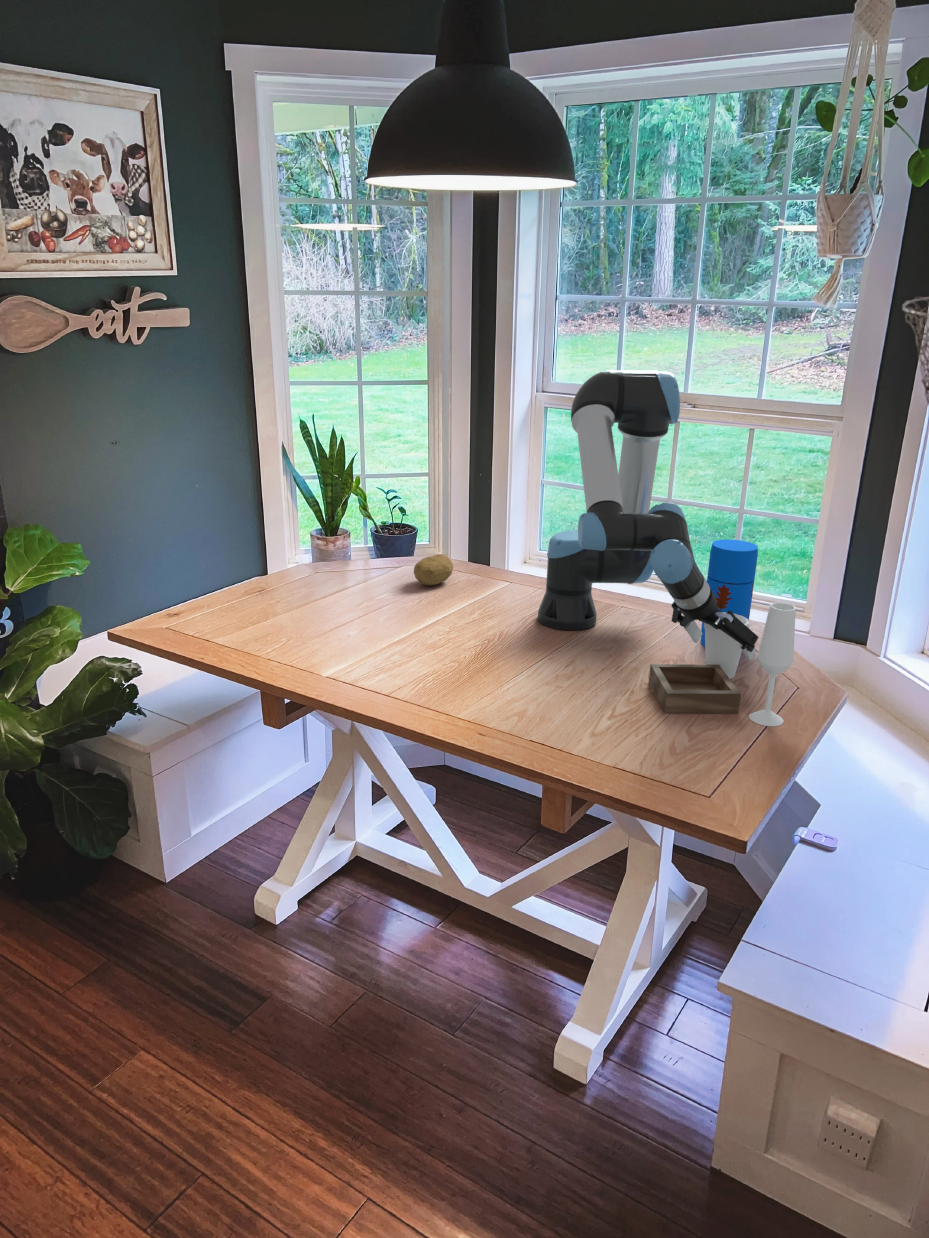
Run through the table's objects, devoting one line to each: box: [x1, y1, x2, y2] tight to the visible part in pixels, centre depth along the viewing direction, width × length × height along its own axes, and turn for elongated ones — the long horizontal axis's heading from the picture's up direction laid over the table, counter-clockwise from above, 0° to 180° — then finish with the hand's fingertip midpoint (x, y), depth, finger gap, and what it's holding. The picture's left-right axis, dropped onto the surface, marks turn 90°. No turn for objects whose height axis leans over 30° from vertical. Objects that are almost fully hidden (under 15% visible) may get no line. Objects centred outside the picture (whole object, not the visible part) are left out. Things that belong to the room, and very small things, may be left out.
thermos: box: [700, 539, 759, 647], centre depth 214 cm, size 11×11×25 cm
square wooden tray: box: [648, 663, 742, 715], centre depth 188 cm, size 15×15×4 cm
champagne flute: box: [748, 601, 797, 727], centre depth 176 cm, size 7×7×24 cm
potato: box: [413, 553, 454, 587], centre depth 258 cm, size 10×14×8 cm
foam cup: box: [704, 612, 750, 680], centre depth 199 cm, size 10×9×13 cm
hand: (724, 646), depth 198 cm, fingers open, 13 cm apart
